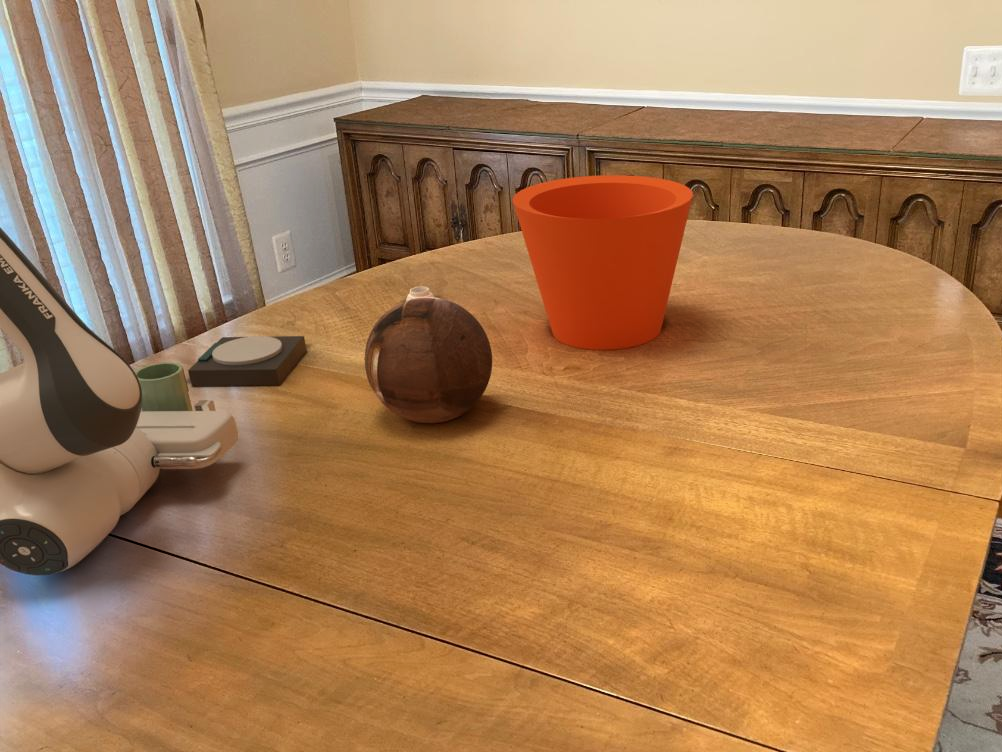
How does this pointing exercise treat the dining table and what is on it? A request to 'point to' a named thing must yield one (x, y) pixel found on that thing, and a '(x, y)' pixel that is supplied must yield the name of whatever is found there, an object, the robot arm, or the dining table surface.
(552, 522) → the dining table surface
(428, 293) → the lidless jar
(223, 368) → the scale
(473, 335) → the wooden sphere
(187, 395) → the cup
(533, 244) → the flowerpot
